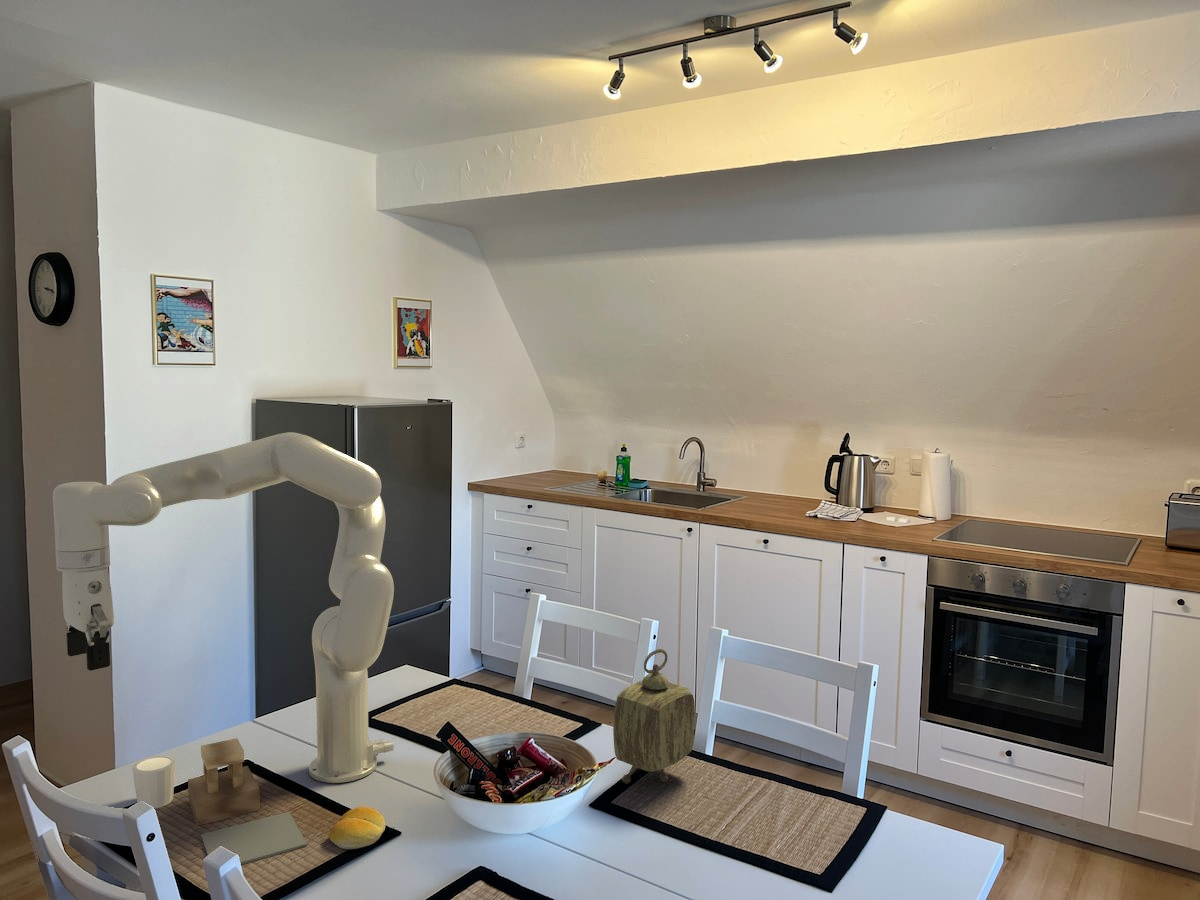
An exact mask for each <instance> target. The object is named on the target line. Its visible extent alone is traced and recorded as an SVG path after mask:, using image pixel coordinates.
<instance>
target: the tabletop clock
mask: <svg viewBox="0 0 1200 900" xmlns="http://www.w3.org/2000/svg"><path fill="white" fill-rule="evenodd" d="M660 653H662V654H663V655H664V661H663V662H662V663H661V664H660V665H658V664H657V663H656V664H653V665H652V669H647V664H648V662H649V660H650V659H651V658H652V656H654V655H657V654H660ZM667 662H668V654H667V652H666V650H665V649H661V648H659V649H658V648H657V649H654V650H652V651H651V652H649V653H648V654H647V656H646V657H645V660H644V662H643V669H644V672H646V674H647V675H645V676H644V677H643V679H642V680H638V681H637V682H634V683H633V684H630V685H629V686H627V687H625V688H624V689H623V690H621V691H620V693H619V694H618V695H617V697H616V700H615V705H614V712H613V713H614V714H613V729H612V731H613V749H614V750H613V751H614V755H615V757H616V760H617V761H619V762H623V763H625V764H628V765H630V766H631V768H630V770H629V772H628V774H624V775H623V776H622V778H621V779H622V782H623V783H624V784H629V783H630V782H631V780H632V779H631V776H632V775H633V774H634V772H635V771H636V770H637V769H641V770H643V771H645V772H650V773H653V772H657V771H660V772H661V773H660V775H659V780H660V782H662V783H666V782H668V779H669V775H668V774H667V773H666V772H665V769H666V768H669V767H671V766H673V765H675V764H676V763H678V762H680V761H681V760H683V759H685V758H686V757H687V756H689V754H690V753H691V752H692V751H693V746H694V740H695V723H696V722H695V721H696V716H695V713H696V712H695V711H696V709H695V706H696V705H695V698H694V695H693V693H692V692H691V691H690V690H689V688H688V687H685V686H683V685H679V684H676V683H673V682H669V680H668V678H667V677H666V676H665V675H664V674H663V673H661V672H660V671H661V670H662V669H663V668H664V667H665V666H666V664H667Z"/></svg>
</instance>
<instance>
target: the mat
mask: <svg viewBox="0 0 1200 900" xmlns="http://www.w3.org/2000/svg"><path fill="white" fill-rule="evenodd" d="M200 838H201V840H202V844H203V846H204V849H205V852H206V856H208V854H209V853H210V852H212V851H213V850H214V849H216V848H217V847H219V846H223V847H226V848H228V849H230V850H232V851H234V852H236V853H238V854H239V855H240V859H241V864H242V865H245V864H248V863H252V862H256V861H259V860H263V859H267V858H269V857H270V858H271V857H273V856H277V855H280V854H283V853H286V852H287V853H288V852H291V851H295V850H298V849H302V848H305V847H308V843H307V841H306V840H305V838H304V835H303V834H302V832H301V831H300V829H299V827H298V825H297V823H296V822H295V820H294V818H293V816H292V815H291V812H290V811H287V812H283V813H279V814H273V815H271V816H266V817H264V818H259V819H256V820H250V821H248V822H244V823H239V824H236V825H233V826H228V827H224V828H221V829H216V830H213V831H209V832H206V833H201V834H200Z"/></svg>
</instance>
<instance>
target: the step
mask: <svg viewBox="0 0 1200 900" xmlns="http://www.w3.org/2000/svg"><path fill="white" fill-rule="evenodd" d="M242 768H243V786H241V787H237V788H234V787H233V785H232V779H229V777H228V769H227V770H223V771H220V772H218V792H216V793H212V794H209V793H208V789H207V784H206V785H205V783H204V775H201V776H197V777H193V778H189V779H187V780H188V781H187V782H188V783H187V784H188V786H187V787H188V788H187V790H188V802H190V803H189V806H190V805H191V806H190V808H192V809H191V811H192V814H193V817H194V819H195V822H196V826H197V825H199V826H202V824H203V825H207V824H210V823H211V824H212V823H215V822H217V821H222V820H226V819H230V818H234V817H238V816H242V815H246V814H250V813H254V812H258V811H260V810H261V801H260V800H261V798H260V787H259V785H258V783H257V781H256V779H255V777H254V776H253V773H252V771H251V770H250V768H249V766H248V765H245V766H242Z"/></svg>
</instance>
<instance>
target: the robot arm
mask: <svg viewBox="0 0 1200 900" xmlns="http://www.w3.org/2000/svg"><path fill="white" fill-rule="evenodd" d="M287 481H289V482H291V483H293V484H295V485H297V486H299V487H302V489H305V490H307V491H309V492H312V493H314V494H316V495H318V496H320V497H323V498H325V499H327V500H329V501H331V502H333V503H334V504H335V506H336V509H337V511H338V518H339V519H338V520H339V525H338V532H337V533H338V534H337V539H336V545H335V548H334V553H333V557H332V561H331V566H330V570H329V571H330V572H329V575H328V585H329V588H330V591H331V593H333V595H335V597H336V598H338V600H340V602H339V605H336V606H331V607H328V608H326V609H325V610H324V611H322V612H321V613H320V614H319V615H318V617H317V618H316V619H315V622H314V623H313V627H312V632H311V642H312V643H311V645H312V652H313V661H314V669H315V670H314V671H315V691H316V693H315V697H316V698H315V702H316V703H315V707H316V708H315V709H316V748H317V749H316V751H317V757H316V758H314V759H313V760H312V761H311V762H310V763H309V767H308V772H309V773H308V774H309V775H310V777H311V778H313V779H314V780H316V781H319V782H321V783H330V784H331V783H332V784H339V783H348V782H353V781H354V782H355V781H356V780H360V779H363V778H365V777H367V776H368V775H370V774H371V773H373V772H374V771H375V770H376V769H377V767H378V758H377V757H378V755H379V754H382V753H389V752H393V751H394V743H393V740H390V741H389V740H388V741H385V742H383V739H382V738H381V739H380V738H379V739H376V740H373V741H371V740H370V739H369V696H368V695H369V675H368V668H370V667H371V666H372V665H373V664H374V663H375V662H376V661H377V659H378V658H379V656H380V654H381V652H382V649H383V646H384V643H385V639H386V634H387V629H388V626H389V621H390V615H391V611H392V606H393V602H394V595H395V594H394V593H395V585H394V584H395V583H394V579H393V576H392V573H391V571H390V570H389V569H388V567H386V566H385V565H384V564H383V563H382V562H381V558H382V552H383V545H384V538H385V533H386V525H387V524H386V521H387V520H386V519H387V518H386V510H385V506H384V502H383V499H382V497H381V493H382V481H381V478H380V475H379V474H378V472H377V471H376V470H375V469H374V468H373V466H372V467H371V466H370V465H368V464H366V463H364V462H362V461H360V460H358V459H356V458H353V457H352V456H349V455H347V454H345V453H343V452H341V451H338V450H337V449H334V448H333V447H330V446H329V445H327V444H325V443H323V442H321V441H320V440H318V439H315V438H314V437H311V436H309V435H306V434H302V433H298V432H293V431H292V432H291V431H288V432H282V433H278V434H274V435H270V436H267V437H263V438H261V439H256V440H252V441H249V442H246V443H242V444H238V445H234V446H230V447H228V448H223V449H219V450H216V451H211V452H208V453H203V454H198V455H196V456H193V457H189V458H185V459H180V460H175V461H174V460H173V461H170V462H166V463H164V464H159V465H155V466H152V467H149V468H145V469H142V470H141V469H140V470H137V471H134V472H130V473H127V474H124V475H122V476H119V477H118V478H116V479H114V480H113V481H112V482H111V483H110V484H103V483H102V482H98V481H71V482H66V483H65V482H64V483H62V484H58V485H57V486H55V487H54V489H53V492H52V504H53V505H52V506H53V507H52V508H53V509H52V510H53V522H54V523H53V525H54V542H55V543H54V544H55V545H54V548H55V562H56V565H55V566H56V572H57V571H58V572H61V573H62V576H61V577H62V578H61V579H62V582H61V583H62V585H61V586H62V590H61V591H62V592H61V593H62V611H63V617H64V621H65V622H66V625H65V630H66V650H67V656H69V657H75V656H81V655H84V654H85V655H86V656H85V657H86V669H87V670H89V671H96V670H100V669H104V668H108V667H110V666H111V656H110V655H111V654H110V652H111V651H110V637H109V635H110V631H109V628H112V627H114V625H115V615H114V602H113V594H112V593H113V592H112V586H111V585H112V584H111V578H110V575H109V569H108V567H110V566H111V551H110V549H111V548H110V547H111V545H110V531H109V526H117V527H118V526H119V527H120V526H121V527H137V526H138V527H139V526H143V525H146V524H149V523H151V522H152V521H153V520H155V519H156V518H158V516H159V514H160V512H161V511H162V509H163V508H167V507H169V506H174V505H177V504H178V505H179V504H182V503H186V502H190V501H198V500H225V499H232V498H235V497H238V496H242V495H244V494H248V493H251V492H254V491H256V490H260V489H263V488H267V487H270V486H274V485H278V484H281V483H284V482H287ZM92 633H94V634H92Z"/></svg>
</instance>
